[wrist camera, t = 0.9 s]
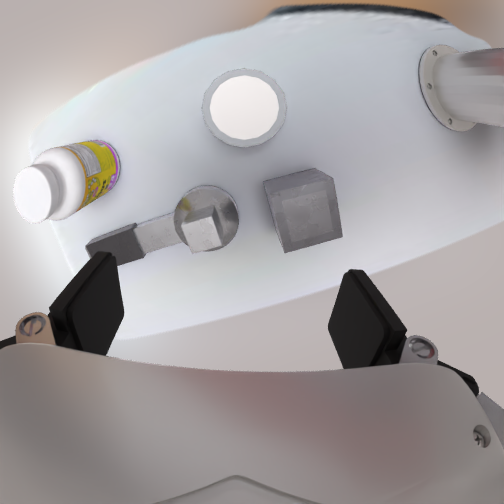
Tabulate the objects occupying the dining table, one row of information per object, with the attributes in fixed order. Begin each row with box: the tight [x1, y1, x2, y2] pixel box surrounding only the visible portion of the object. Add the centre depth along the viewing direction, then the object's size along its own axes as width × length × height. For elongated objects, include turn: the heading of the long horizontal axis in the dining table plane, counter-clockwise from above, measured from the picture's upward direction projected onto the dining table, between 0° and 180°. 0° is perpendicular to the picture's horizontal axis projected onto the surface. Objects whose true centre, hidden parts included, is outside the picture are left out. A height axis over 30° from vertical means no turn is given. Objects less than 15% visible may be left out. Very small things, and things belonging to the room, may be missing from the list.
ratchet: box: [85, 185, 239, 266], centre depth 28 cm, size 20×7×6 cm, turn 106°
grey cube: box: [263, 168, 343, 253], centre depth 28 cm, size 6×6×6 cm
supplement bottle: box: [13, 140, 120, 224], centre depth 21 cm, size 7×7×13 cm
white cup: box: [202, 68, 287, 148], centre depth 23 cm, size 7×7×7 cm
